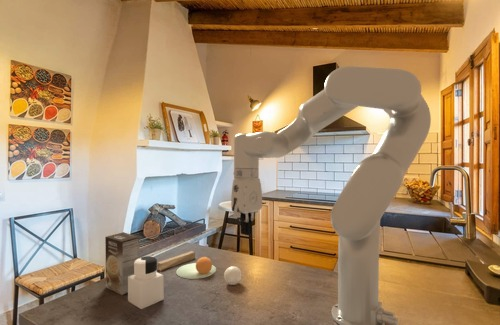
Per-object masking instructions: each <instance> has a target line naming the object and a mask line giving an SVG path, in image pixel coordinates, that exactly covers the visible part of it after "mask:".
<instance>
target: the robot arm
mask: <svg viewBox="0 0 500 325" xmlns="http://www.w3.org/2000/svg"><path fill="white" fill-rule="evenodd" d="M324 81H325V82H324V88H323V89H322V90H321V91H320V92H318V93H316V94H315V95H314V96H312V97H311V98H309V99H307V100H306V101H304V102H303V103H302V104H301V105H300V106H299V109H298V112H297V116H296V118H294V120H293V121H292V122H291V123H290V124H289V125H287V126H286V127H284V128H283V129H281V130H279V131H278V132H274V131H272V132H271V131H265V130H264V131H258V132H254V133H237V134H235V136H234V138H233V180H232V185H231V186H232V187H231V198H230V199H231V200H230V201H231V202H230V204H231V205H230V206H231V211H232V212H233V215H232V217H233V218H237V219H238V220H239V222H240V234H241V235H245V236H249V235H250V236H251V235H252V234H253V221H254V218H255V217H254V216H255V215H256V214H258V212H259V211H260V210H261V209H262V208H263V193H262V192H263V190H262V183H261V179H260V178H259V175H260V172H259V171H260V170H259V166H260V165H259V158H263V159H271V158H272V159H273V158H275V159H276V158H282V157H284V156H286V155H288V154H290V153H291V152H293V151H295V150H296V149H298V148H300V147H301V146H303V145H304V144H306V143H307V142H308V141H309V140H310V139H312V138H313V137H314V136H315V135H316V134H317V133H319V132H320V131H321V130H323V129H324V128H326V127H328V126H329V125H331V124H332V123H334V122H336V121H337V120H339V119H340V118H341V117H344V116H345V115H347V114H348V113H350V112H351V111H353V110H355V109H356V108H358V107H365V108H371V109H378V110H383V111H384V112H385V113H386V114H387V115H388V117H389V123H388V126H387V127H386V128H385V130H384V132H383V134H382V135H381V138H380V139H379V141H378V143H377V145H376V146H375V148H374V149H373V151H372V153H370V155H369V156H367V157H365V158H364V159H363V160H361V161H360V162H359V163H358V165H357V166H356V167H355V168H354V170H353V172H352V174H351V175H350V177H349V178H348V180H347V182H346V184H345V186H344V187H343V188H342V190H341V193H340V194H339V196H338V198H337V199H336V201H335V203H334V204H333V207H332V209H331V211H330V223H331V226H332V229H333V230H334V232H335V233H336V234H337V235H338V248H337V250H338V252H337V253H338V256H337V257H338V258H337V259H338V260H337V303H335V304H334V305H333V306H332V307H331V317H332V320H334V321H335V323H337V324H338V325H386V324H387V325H398V321H399V319H398V317H395V312H392V311H389V310H385V309H384V308H383V302H381V301H379V290H380V289H379V283H380V282H379V279H380V278H379V277H380V276H379V272H380V270H379V267H380V262H379V260H380V236H381V235H380V233H381V231H380V230H381V219H382V217H383V215H384V214H385V212H386V211H387V210H388V208H389V207H390V205H391V204H392V202H393V200H394V198H395V196H396V195H397V193H398V192H399V191H400V189H401V186H402V184H403V181H404V178H405V176H406V173H407V172H408V170H409V168H410V167H411V165H412V164H413V162H414V161H415V159H416V157H417V156H418V153H419V151H420V150H421V148H422V146H423V145H424V143H425V141H426V139H427V136H428V135H429V132H430V128H431V120H432V119H431V110H430V107H429V104H428V103H427V101H426V100H425V98H424V96H423V95H422V85H421V81H420V79H419V78H418V77H417V75H415V74H414V73H413V72H411V71H408V70H406V69H398V68H387V67H384V68H383V67H371V66H351V65H350V66H349V65H348V66H347V65H346V66H341V67H338V68H335V70H334V69H333V71H331V72H330V73H329V74H328V76H327V77H326V79H325V80H324Z"/></svg>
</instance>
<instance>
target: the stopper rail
mask: <svg viewBox="0 0 500 325" xmlns="http://www.w3.org/2000/svg"><path fill="white" fill-rule="evenodd" d="M193 259H196V252H195V251H193V250H190V251H187V252H184V253H181V254H178V255H176V256H173V257H169V258H166V259H164V260H160V261H157V271H165V270H166V269H168V268H169V269H170V268H171V267H174V266H177V265H180V264H183V263H186V262H189V261H191V260H193Z"/></svg>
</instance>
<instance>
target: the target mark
mask: <svg viewBox="0 0 500 325" xmlns="http://www.w3.org/2000/svg"><path fill="white" fill-rule="evenodd" d="M196 263H197V262H194V263H193V262H192V263H188V264H185V265H182V266H180V267H178V268H177V269H176V275H177V276H178V277H180V278H182V279H186V280H187V279H188V280H198V279H203V278H208V277H210V276H212V275H214V274H215V273H216V271H217V267H216V266H214V265H213V264H212V268H211V270H210V271H209V272H208V273H206V274H201V273H199V272H198V271H197V269H196Z"/></svg>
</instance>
